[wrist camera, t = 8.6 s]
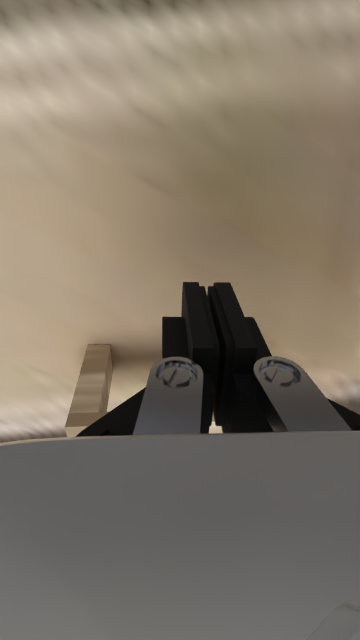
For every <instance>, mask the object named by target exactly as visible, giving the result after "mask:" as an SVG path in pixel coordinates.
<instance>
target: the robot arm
mask: <svg viewBox="0 0 360 640" xmlns="http://www.w3.org/2000/svg"><path fill="white" fill-rule="evenodd" d="M213 415H214V420H215V425H216V426H221V427H222V432H223V433H209V427H210V426H211V424H212V417H213ZM0 640H360V415H359V414H357V413H355V412H353V411H351V410H349V409H347V408H345V407H343V406H341V405H339V404H337V403H335V402H333V401H331V400H329V399H327V398H326V397H325V396H324V394H323V393H322V392H321V391H320V389H319V388H318V387H317V386H316V384H315V383H314V382H313V381H312V379H311V378H310V377H309V376H308V374H307V373H306V372H305V371H304V369H303V368H301V367H300V366H299V365H298V364H297V363H295V362H293V361H291V360H289V359H286V358H283V357H277V356H272V355H271V353H270V351H269V349H268V347H267V345H266V343H265V340H264V338H263V336H262V334H261V332H260V330H259V328H258V326H257V323H256V321H255V319H254V318H253V317H244V314H243V312H242V310H241V307H240V305H239V302H238V300H237V298H236V295H235V293H234V291H233V288H232V286H231V284H230V283H216V282H215V283H214V286H209V287H208V294H206V291H205V287H204V286H199V283H198V282H183V292H182V316H181V317H163V318H162V360H160V361H158V362H157V363H155V364H154V365H153V367H152V368H151V370H150V374H149V377H148V381H147V385H146V387H145V388H144V389H143V390H141V391H140V392H138V393H137V394H135V395H134V396H132V397H131V398H129V399H128V400H126V401H125V402H123V403H122V404H120V405H119V406H117V407H116V408H115V409H113V410H112V411H110V412H109V413H107V414H106V415H104V416H103V417H101V418H100V419H98V420H97V421H95V422H94V423H92V424H91V425H90V426H88V427H87V428H85V429H84V430H82V431H81V432H80V433H79V434H78V435H77V436H76V437H64V438H47V439H30V440H21V441H13V442H5V443H0Z"/></svg>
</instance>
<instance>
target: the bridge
mask: <svg viewBox="0 0 360 640" xmlns="http://www.w3.org/2000/svg"><path fill="white" fill-rule="evenodd" d="M112 373H113V366H112V355H111V345H110V344H109V345H88V346H87V350H86V354H85V357H84V361H83V364H82V368H81V371H80V375H79V379H78V382H77V386H76V389H75V393H74V397H73V400H72V404H71V407H70V411H69V415H68V418H67V422H66V425H65V429H66V434H67V437H76V436H77V435H78V434H79V433H80V432H81V431H82V430H84V429H85V428H87V427H88V426H90V425H91V424H92V423H94V422H95V421H97V420H98V419H100V418H101V417H103V416H104V415H106V414H107V413H109V412H107V405H108V399H109V392H110V386H111V379H112ZM209 433H223V432H222V427H221V426H216V425H215V420H214V415H213V417H212V424H211V426H210V427H209Z"/></svg>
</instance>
